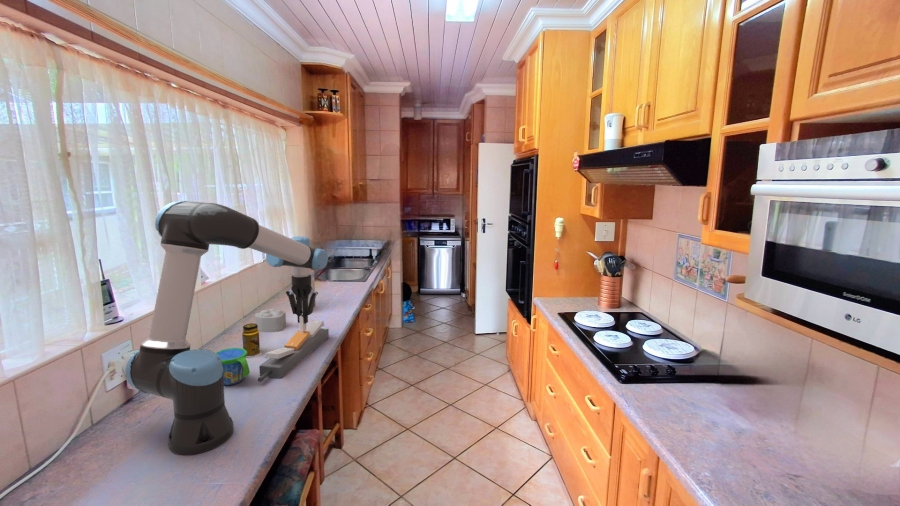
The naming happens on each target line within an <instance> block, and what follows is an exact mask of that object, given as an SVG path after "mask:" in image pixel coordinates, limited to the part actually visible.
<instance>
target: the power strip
mask: <svg viewBox="0 0 900 506" xmlns="http://www.w3.org/2000/svg"><path fill="white" fill-rule="evenodd" d="M329 330H330V329H329V328H322V327H321V328H320V330H319V331H318V332H317V333H316V335H315V336H314V337H313V338H307V339H306V340H305V341H304V343H303V344H302V345H301V346H300V347H299V349H298V350H294V353H292V354H289V355H287V356H284V357H282V358H279V359H275V358H268V359H266V360H265V361H264V362H263V363H261V364H260V365H258V366H259V377H258V379H257V381H258V382H259V383H261V382H264V380H265V379H267V378H271V379H272V378H273V379H282V378H283V377H284V376H285V375H286V374H287V373H289V372H290V371H291V370H293V368H295V367H296V366H297V365H298V364H299V363H301V362H302V361H304V359H305V358H306V357H308V356H309V355H310V354H311V353H313V351H314V350H315V349H317V348H318V347H320V345H322V344H323V343H325V341H327V340H328V339H329V338H328V337H330V335H329Z"/></svg>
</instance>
